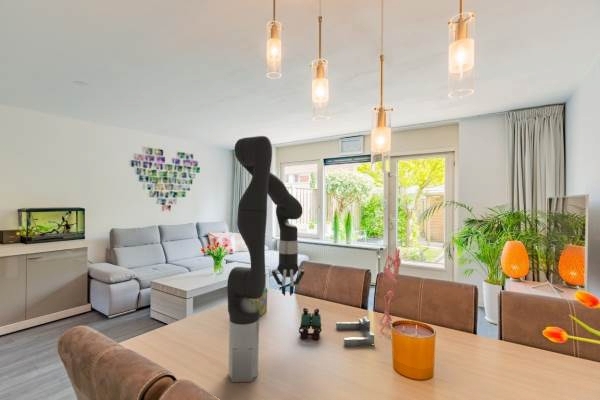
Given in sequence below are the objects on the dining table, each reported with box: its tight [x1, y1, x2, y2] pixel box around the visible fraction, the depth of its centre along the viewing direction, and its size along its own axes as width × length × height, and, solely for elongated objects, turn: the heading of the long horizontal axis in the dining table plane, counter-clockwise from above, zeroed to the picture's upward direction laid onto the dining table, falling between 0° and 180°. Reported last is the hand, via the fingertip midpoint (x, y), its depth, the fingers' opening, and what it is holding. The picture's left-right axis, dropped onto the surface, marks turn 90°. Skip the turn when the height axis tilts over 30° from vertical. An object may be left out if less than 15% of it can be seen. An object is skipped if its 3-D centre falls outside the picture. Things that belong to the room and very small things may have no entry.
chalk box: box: [246, 287, 268, 318], centre depth 144 cm, size 9×9×15 cm
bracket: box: [335, 315, 375, 347], centre depth 121 cm, size 16×12×7 cm
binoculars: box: [298, 307, 323, 341], centre depth 120 cm, size 9×11×10 cm
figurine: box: [379, 247, 402, 338], centre depth 129 cm, size 15×26×35 cm, turn 167°
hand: (287, 294), depth 119 cm, fingers closed
